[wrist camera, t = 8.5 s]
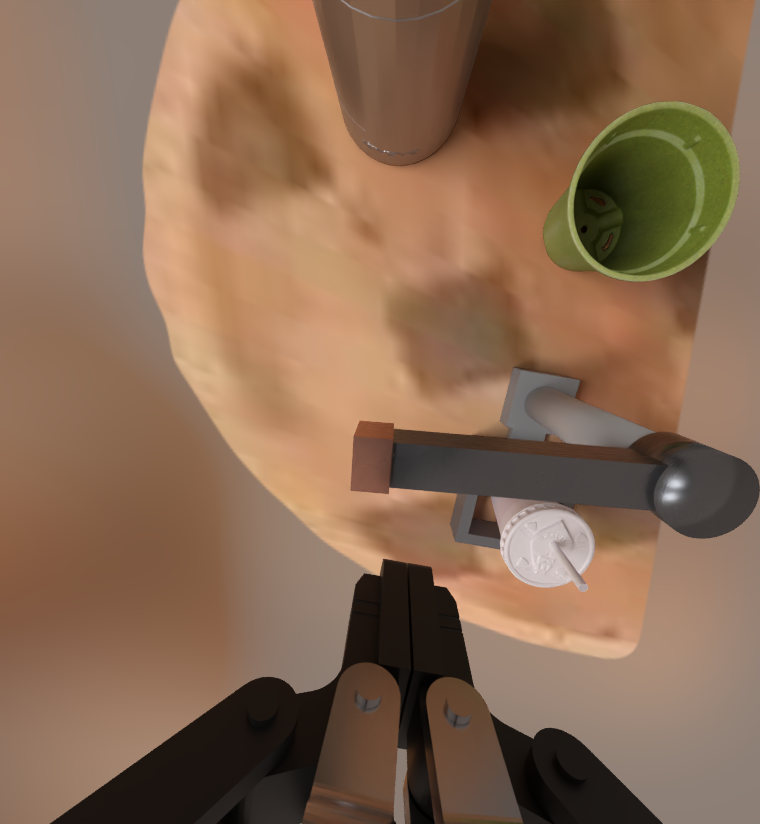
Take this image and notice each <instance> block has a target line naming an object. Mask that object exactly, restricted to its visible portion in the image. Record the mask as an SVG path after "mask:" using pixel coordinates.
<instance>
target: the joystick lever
mask: <svg viewBox="0 0 760 824" xmlns="http://www.w3.org/2000/svg"><path fill="white" fill-rule="evenodd" d="M389 487H390V488H401V489H412V490H424V491H435V492H446V493H458V494H469V495H480V496H492V497H503V498H514V499H526V500H537V501H549V502H560V503H571V504H583V505H594V506H605V507H617V508H628V509H639V510H649V511H650V512H651V513H653V514H654V515H655V516H657V517H658V518H660V519H661V520H662V521H664V522H665V523H666V524H668V525H669V526H670V527H672V528H673V529H674V530H676V531H677V532H679V533H681V534H683V535H685V536H688V537H692V538H712V537H717V536H720V535H723V534H726V533H728V532H730V531H732V530H734V529H735V528H737V527H738V526H739V525H741V524H742V523H743V522H744V521H745V520H746V519H747V518H748V517H749V516H750V514H751V513H752V512H753V510H754V508H755V506H756V504H757V501H758V498H759V491H760V489H759V488H760V487H759V481H758V478H757V475H756V473H755V471H754V470H753V469H752V468H751V466H749V465H748V464H747V463H746V462H744V461H743V460H741V459H739V458H736V457H734V456H731V455H728V454H726V453H724V452H721V451H719V450H716V449H714V448H711V447H709V446H706V445H703V444H701V443H699V442H696V441H694V440H691V439H688V438H686V437H683V436H681V435H678V434H675V433H671V432H656V433H651V434H648V435H646V436H643V437H641V438H640V439H638V440H636V441H635V442H634V443H632V444H631V445H630V446H629V447H628V448H617V447H605V446H593V445H581V444H569V443H557V442H545V441H533V440H521V439H509V438H497V437H485V436H473V435H461V434H449V433H437V432H425V431H413V430H401V429H394V424H393V423H381V422H369V421H360V422H359V424H358V427H357V429H356V432H355V434H354V441H353V458H352V476H351V491H361V492H372V493H384V494H389Z"/></svg>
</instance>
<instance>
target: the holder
mask: <svg viewBox="0 0 760 824" xmlns="http://www.w3.org/2000/svg"><path fill="white" fill-rule="evenodd" d="M579 383H580V380H578V379H575V378H571V377H567V376H562V375H556V374H550V373H544V372H538V371H533V370H527V369H521V368H515V367H513V371H512V375H511V379H510V383H509V387H508V391H507V395H506V398H505V402H504V406H503V410H502V414H501V418H500V422H502V423H503V424H504V425H505V426H506V427H509V430H508V434H507V438H509V439H521V440H533V441H544V440H545V437H546V434H550V435H555V436H557V437H558V438H560V439H561V440H562V441H564V442H565V443H569V444H581V445H593V446H605V447H617V448H628V447H629V446H630V445H631V444H632V443H634V442H635V441H636V440H638V439H640V438H641V437H643V436H646V435H648V434H651V433H656V432H654V431H652V430H649V429H647V428H645V427H642V426H640V425H638V424H635V423H633V422H630V421H628V420H626V419H623V418H621V417H619V416H616V415H614V414H612V413H609V412H607V411H604V410H602V409H600V408H597V407H595V406H593V405H590V404H588V403H586V402H583V401H581V400H578V399H576V398H575V396H576V393H577V390H578V386H579ZM473 436H474V435H473ZM477 497H478V495H469V494H457V498H456V502H455V506H454V511H453V515H452V519H451V523H450V525H451V528H452V532H453V536H454V540H455V542H460V543H466V544H472V545H478V546H483V547H489V548H495V549H500V539H501V535H500V531H499V527H498V523H495V522H490V521H484V520H478V519H473V518H472V517H473V513H474V509H475V505H476V501H477ZM557 503H559V504H561V505H564V506H566V507H569V508H571V509H572V510H573V508H574V505H575V504H571V503H560V502H557Z"/></svg>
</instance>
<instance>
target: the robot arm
mask: <svg viewBox="0 0 760 824" xmlns="http://www.w3.org/2000/svg"><path fill="white" fill-rule="evenodd" d="M312 1H313V4H314V8H315V12H316V16H317V20H318V23H319V27H320V31H321V35H322V38H323V42H324V46H325V50H326V54H327V57H328V61H329V65H330V69H331V73H332V76H333V80H334V84H335V88H336V92H337V96H338V99H339V103H340V107H341V111H342V114H343V118H344V122H345V124H346V127H347V129H348V131H349V133H350V135H351V137H352V138H353V140H354V141H355V142H356V144H357V145H358V147H360V148H361V149H362V150H363V151H364V152H365V153H366V154H367V155H368V156H370V157H372V158H374V159H375V160H377V161H379V162H383V163H386V164H389V165H407V164H413V163H416V162H418V161H421V160H423V159H425V158H427V157H428V156H430V155H431V154H432V153H434V152H435V151H437V150H438V149H439V147H440V146H441V145H442V144H443V143H444V142H445V141H446V140H447V138H448V136H449V135H450V133H451V131H452V130H453V128H454V126H455V123H456V120H457V118H458V115H459V112H460V109H461V105H462V102H463V98H464V95H465V92H466V88H467V85H468V82H469V79H470V75H471V72H472V68H473V65H474V62H475V58H476V55H477V51H478V48H479V44H480V41H481V37H482V34H483V31H484V27H485V24H486V20H487V17H488V13H489V10H490V6H491V3H492V0H312ZM397 748H401V749H407V772H406V776H405V780H404V785H403V803H404V817H405V824H662V822H661V821H660V820H659V819H658V818H657V817H655V815H654V814H653V813H652V812H651V811H650V810H649V809H648V808H647V807H646V806H645V805H644V804H643V803H642V802H641V801H640V800H639V799H638V798H637V797H636V796H635V795H634V794H633V793H632V792H631V791H630V790H629V789H628V788H627V787H626V786H625V785H624V784H623V783H622V782H621V781H620V780H619V779H617V777H616V776H615V775H614V774H613V773H612V772H611V771H610V770H609V769H608V768H607V767H606V766H605V765H604V764H603V763H602V762H601V761H600V760H599V759H598V758H597V757H596V756H595V755H594V754H593V753H591V751H590V750H589V749H588V748H587V747H586V746H585V745H583V744H582V743H581V742H580V741H579V740H577V739H576V738H575V737H573V736H572V735H570V734H568V733H567V732H564V731H562V730H559V729H555V728H545V729H542V730H540V731H539V732H538V733H537V734H536V735H535V737H534V739H532V738H531V737H529V736H527V735H524V734H523V733H521V732H519V731H517V730H515V729H513V728H511V727H509V726H508V725H506V724H504V723H502V722H501V721H499V720H498V719H497V718H496V717H494V716H493V715H492V714H491V713H490V712H489V709H488V707H487V704H486V703H485V701H484V699H483V698H482V696H481V695H480V694H479V693H478V692H477V690H476V689H475V688H474V685H473V680H472V675H471V671H470V666H469V661H468V656H467V652H466V647H465V642H464V637H463V633H462V628H461V623H460V620H459V613H458V609H457V604H456V601H455V599H454V598H453V596H452V595H451V594H450V592H449V591H448V589H447V588H446V587H440V586H434V581H433V574H432V568H431V567H428V566H422V565H417V564H411V563H405V562H399V561H393V560H388V559H383V562H382V566H381V571H380V576H377V575H371V574H364V575H363V576H362V577H361V578H360V580H359V581H358V582H357V584H356V586H355V591H354V597H353V602H352V608H351V614H350V620H349V625H348V631H347V638H346V644H345V650H344V657H343V663H342V668H341V671H340V672H339V674H338V676H337V677H336V678H335V679H334V680H333V681H332V682H331V683H330V684H328V685H326V686H325V687H323V688H321V689H318V690H314V691H310V692H304V693H299V694H296V693H295V691H294V690H293V688H292V687H291V686H290V685H289V684H288V683H286V682H285V681H283V680H281V679H279V678H274V677H262V678H258V679H255V680H253V681H250V682H248V683H247V684H245V685H244V686H242V687H241V688H239V689H238V690H237V691H235V692H234V693H233V694H231V695H230V696H228V697H227V698H226V699H224V700H223V701H221V702H220V703H218V704H217V705H216V706H214V707H213V708H211V709H210V710H209V711H207V712H206V713H204V714H203V715H202V716H200V717H199V718H198V719H196V720H195V721H193V722H192V723H190V724H189V725H188V726H186V727H185V728H183V729H182V730H181V731H179V732H178V733H176V734H175V735H174V736H172V737H171V738H169V739H168V740H167V741H165V742H164V743H162V744H161V745H160V746H158V747H157V748H155V749H154V750H153V751H151V752H150V753H148V754H147V755H146V756H144V757H143V758H141V759H140V760H139V761H137V762H136V763H134V764H133V765H132V766H130V767H129V768H127V769H126V770H124V771H123V772H122V773H120V774H119V775H118V776H116V777H115V778H113V779H112V780H110V781H109V782H108V783H106V784H105V785H104V786H102V787H101V788H99V789H98V790H96V791H95V792H94V793H92V794H91V795H89V796H88V797H87V798H85V799H84V800H82V801H81V802H80V803H78V804H77V805H76V806H74V807H73V808H71V809H70V810H68V811H67V812H66V813H64V814H63V815H61V816H60V817H59V818H57V819H56V820H54V821H53V822H52V823H50V824H300V823H302V824H396V822H395V821H394V816H393V814H394V812H393V811H394V794H395V779H396V764H397Z"/></svg>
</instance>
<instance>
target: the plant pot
mask: <svg viewBox="0 0 760 824" xmlns="http://www.w3.org/2000/svg"><path fill="white" fill-rule="evenodd" d="M739 184H740V165H739V158H738V154H737V150H736V147H735V145H734V142H733V140H732V137H731V135H730V134H729V132H728V130H727V129H726V128H725V126H724V125H723V124H722V123H721V122H720V121H719V120H718V119H717V118H716V117H715V116H714V115H713V114H711V113H710V112H709V111H707V110H705V109H703V108H700V107H698V106H695V105H692V104H689V103H685V102H677V101H666V102H655V103H651V104H647V105H644V106H641V107H638V108H636V109H634V110H632V111H630V112H628V113H626V114H624V115H622V116H621V117H619V118H618V119H616V120H615V121H614V122H612V123H611V124H610V125H608V126H607V127H606V128H605V129H604V130H603V131H602V132H601V133H600V134H599V135H598V136H597V137H596V138H595V139H594V141H593V142H592V143H591V144H590V146H589V147H588V148H587V150H586V151H585V153H584V154H583V156H582V158H581V159H580V161H579V163H578V165H577V167H576V170H575V172H574V174H573V177H572V180H571V183H570V186H569V188H568V189H567V190H566V191H565V193H564V194H563V195H562V196H561V197H560V199H559V200H558V201H557V202H556V204H555V205H554V206H553V207H552V209H551V210H550V212H549V214H548V216H547V218H546V221H545V225H544V229H543V238H544V243H545V246H546V250H547V254H548V255H549V257H550V258H551V260H552V261H553V262H554V263H555V264H557V265H558V266H560V267H561V268H564V269H567V270H571V271H598V272H599V273H601V274H603V275H605V276H608V277H611V278H614V279H618V280H622V281H630V282H644V281H652V280H657V279H661V278H664V277H667V276H670V275H673V274H675V273H677V272H679V271H681V270H683V269H685V268H686V267H688V266H689V265H691V264H692V263H694V262H695V261H696V260H697V259H699V258H700V257H701V256H702V255H703V254H704V253H705V252H706V251H707V250H708V249H709V248H710V247H711V246H712V245H713V244H714V243H715V242H716V240H717V239H718V237H719V236H720V234H721V233H722V231H723V230H724V228H725V227H726V225H727V223H728V221H729V219H730V217H731V214H732V212H733V210H734V206H735V203H736V199H737V196H738V190H739ZM591 197H598V198H601V199H602V200H603V201H604V202H605V204H606V205H605V206H601V205H600V204H598V203H597V202H595V201H593V200H590V198H591ZM583 226H586V227H587V231H586V232H585V233H582V232H581V228H582V227H583ZM610 234H612V235H613V239H612V241H611V243H610V245H609V247H608V248H607V249H606V250H602V248H603V246H604V245H605V244H606V242H607V241H608V239H609V236H610Z"/></svg>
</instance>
